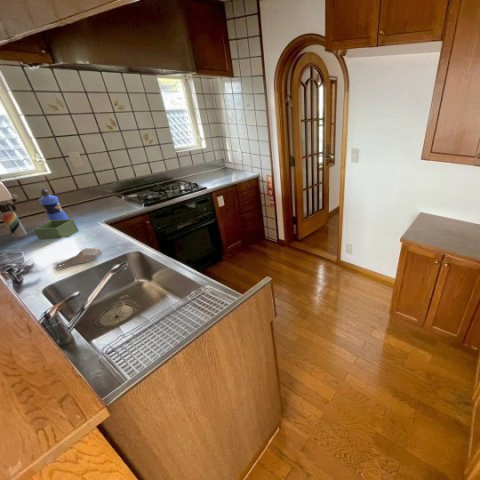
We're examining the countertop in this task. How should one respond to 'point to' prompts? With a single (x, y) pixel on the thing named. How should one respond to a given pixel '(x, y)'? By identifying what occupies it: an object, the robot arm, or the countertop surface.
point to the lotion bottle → (12, 221)
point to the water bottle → (52, 206)
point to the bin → (56, 229)
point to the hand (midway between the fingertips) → (6, 212)
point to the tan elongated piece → (80, 257)
